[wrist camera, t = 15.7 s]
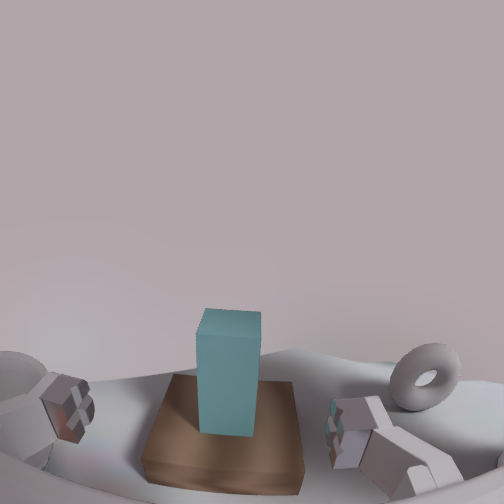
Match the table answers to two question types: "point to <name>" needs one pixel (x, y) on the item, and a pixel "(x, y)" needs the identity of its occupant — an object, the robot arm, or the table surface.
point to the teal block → (228, 371)
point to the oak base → (226, 445)
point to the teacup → (22, 389)
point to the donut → (415, 366)
